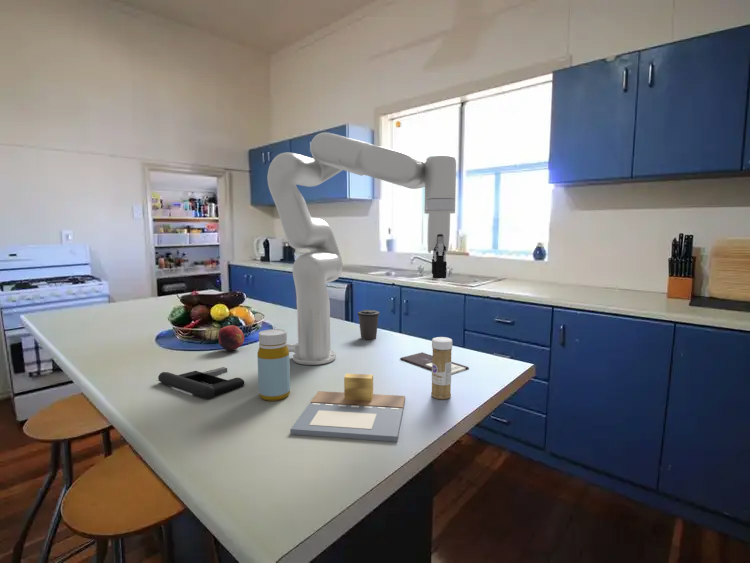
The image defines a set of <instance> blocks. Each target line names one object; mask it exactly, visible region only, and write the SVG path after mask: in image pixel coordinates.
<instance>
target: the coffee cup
mask: <svg viewBox="0 0 750 563" xmlns="http://www.w3.org/2000/svg"><path fill="white" fill-rule="evenodd" d="M380 314H381V313H380V311H378V310H375V309H364V310H360V311H358V312H357V313H356V315H358V324H359V331H360V339H361V338H362V339H361V340H363V339H365V341H372V340H373V339H374V340H377V334H378V333H377V332H378V323H379V315H380ZM374 340H373V341H374Z"/></svg>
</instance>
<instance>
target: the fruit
mask: <svg viewBox="0 0 750 563" xmlns="http://www.w3.org/2000/svg"><path fill="white" fill-rule="evenodd" d="M244 342H245V335H244V333H243V330H242V329H240V328H239V327H238V326H236V325H232V324H231V325H226V326H223V327H222V328H220V329H219V330H218V344H219V346H220V347H222V348H223V349H224V350H226V351H227V352H231V351H232V350H233V351H235V350H236V349H238V348H240V347H241V346H242V345H243V344H244Z"/></svg>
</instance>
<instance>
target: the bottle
mask: <svg viewBox="0 0 750 563" xmlns="http://www.w3.org/2000/svg"><path fill="white" fill-rule="evenodd" d="M287 332H288V331H287V330H286V329H281V328H271V329H265V330H261V331H259V332H258V346H259V348H258V351H257V377H258V380H257V382H258V396H259V397H260V398H261V399H262V400H263V401H267V402H268V401H269V402H274V401H275V402H276V401H281V400H284V399H285V398H287V397H288V396H289V395H290V394H291V373H290V372H291V371H290V370H291V369H290V368H291V367H290V352H289V350H288V347H287V344H288V342H287V341H288V333H287Z"/></svg>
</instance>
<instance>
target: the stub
mask: <svg viewBox="0 0 750 563" xmlns="http://www.w3.org/2000/svg"><path fill="white" fill-rule="evenodd" d="M343 380H344V381H343V383H344V384H343V389H344V392H340V391H339V392H338V391H320V390H319V391H318V390H317V392H316V393H315V395H314V397H313V398H312V399H311V400H310V402H309V403H323V404H339V405H356V406H373V407H390V408H403V409H404V408H405V402H406V396H405V395H398V394H397V395H394V394H392V395H391V394H378V393H377V394H376V393H375V394H374V374H365V373H364V374H363V373H362V374H361V373H345V375H344V377H343Z"/></svg>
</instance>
